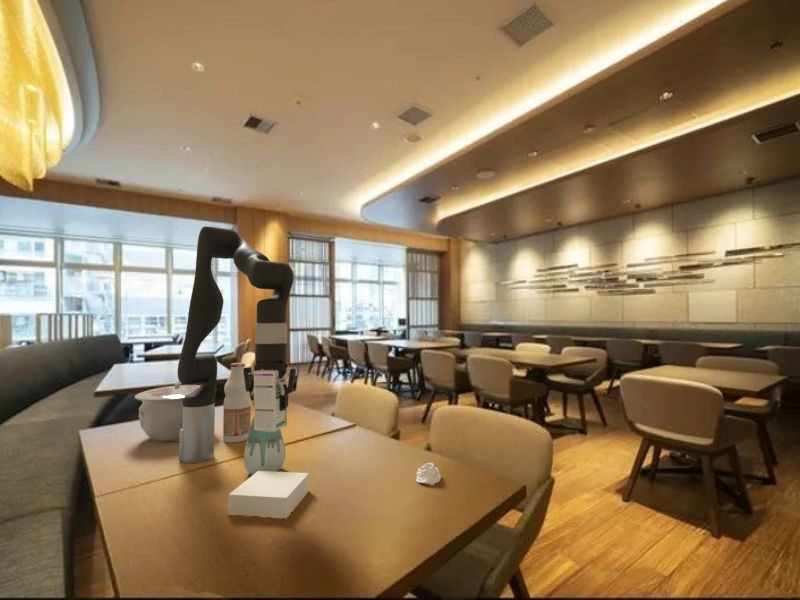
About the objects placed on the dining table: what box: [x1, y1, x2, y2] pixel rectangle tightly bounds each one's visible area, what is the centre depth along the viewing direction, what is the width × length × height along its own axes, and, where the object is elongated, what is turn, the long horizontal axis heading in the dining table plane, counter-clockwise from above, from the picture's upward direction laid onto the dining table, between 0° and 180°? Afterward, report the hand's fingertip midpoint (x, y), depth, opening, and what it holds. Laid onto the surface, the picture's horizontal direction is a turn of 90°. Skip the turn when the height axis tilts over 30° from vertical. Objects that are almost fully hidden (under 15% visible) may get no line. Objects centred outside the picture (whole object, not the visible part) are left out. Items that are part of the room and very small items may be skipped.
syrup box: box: [253, 370, 288, 432], centre depth 97 cm, size 6×6×14 cm
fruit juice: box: [222, 362, 252, 444], centre depth 146 cm, size 9×9×28 cm
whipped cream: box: [415, 462, 442, 485], centre depth 109 cm, size 8×7×5 cm
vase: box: [243, 416, 286, 476], centre depth 115 cm, size 12×12×18 cm
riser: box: [227, 471, 310, 520], centre depth 96 cm, size 14×14×5 cm
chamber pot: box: [134, 381, 201, 442], centre depth 150 cm, size 28×28×21 cm
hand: (270, 409), depth 97 cm, fingers closed on syrup box, 6 cm apart
